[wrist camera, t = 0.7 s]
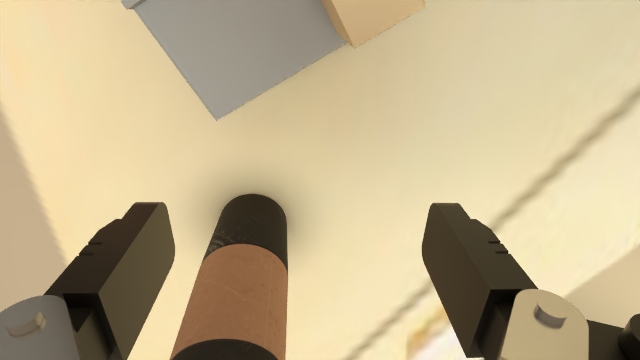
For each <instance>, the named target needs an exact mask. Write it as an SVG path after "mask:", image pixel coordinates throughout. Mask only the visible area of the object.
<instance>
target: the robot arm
mask: <svg viewBox="0 0 640 360" xmlns="http://www.w3.org/2000/svg"><path fill="white" fill-rule="evenodd" d="M174 257H175V244H174V239H173V234H172V229H171V225H170V220H169V215H168V210H167V207H166V205H165V204H164V203H163V202H136V203H134V204H133V205H132V207H131V208H130V209H129V210H128V212H127V213H126V214H125V215H124V217H123V218H122V219H115V220H114V221H112V222H111V223H109V224H108V225H106V226H105V227H103V228H102V229H100V230H99V231H98V232H97V233H96V234H95V235H94V237H93V238H92V239H91V240H90V241H89V242H88V245H86V246H85V247H84V248H83V249H82V251H81V252H80V253H79V256H76V258H75V259H74V260H73V261H72V262H71V263H70V265H69V266H68V267H67V268H66V269H65V270H64V272H63V273H62V274H61V275H60V276H59V277H58V279H57V280H56V281H55V282H54V283H53V284H52V286H51V287H50V288H49V289H48V290H47V291H46V293H45V294H44V295H43V296H36V297H32V298H29V299H26V300H23V301H20V302H18V303H16V304H14V305H12V306H10V307H8V308H7V309H5V310H4V311H2V312H1V313H0V360H127V358H128V356H129V354H130V352H131V350H132V348H133V346H134V344H135V342H136V340H137V338H138V336H139V333H140V331H141V329H142V327H143V325H144V323H145V321H146V319H147V317H148V315H149V313H150V311H151V308H152V306H153V304H154V302H155V300H156V298H157V296H158V294H159V292H160V290H161V288H162V285H163V283H164V281H165V279H166V277H167V275H168V273H169V271H170V269H171V267H172V264H173V261H174ZM422 257H423V261H424V264H425V266H426V269H427V271H428V273H429V275H430V278H431V280H432V282H433V284H434V287H435V289H436V291H437V293H438V295H439V298H440V300H441V302H442V304H443V307H444V309H445V311H446V313H447V315H448V318H449V320H450V322H451V324H452V327H453V329H454V331H455V333H456V335H457V338H458V340H459V342H460V344H461V347H462V349H463V351H464V353H465V355H466V358H480V357H484V359H485V360H640V314H637V315H634V316H633V317H632V318H631V319H630V321H629V322H628V324H627V325H626V327H625V328H620V327H616V326H612V325H607V324H603V323H598V322H595V321H590V320H586V319H585V317H584V316H583V314H582V313H581V312H580V311H579V310H578V309H577V308H576V307H575V306H574V305H572V304H571V303H570V302H568V301H567V300H565V299H564V298H562V297H560V296H558V295H556V294H553V293H551V292H548V291H544V290H539V289H538V288H537V287H536V285H535V284H534V283H533V282H532V280H531V279H530V278H529V277H528V275H527V274H526V273H525V272H524V270H523V269H522V268H521V267H520V265H519V264H518V263H517V262H516V260H515V259H514V258H513V257H512V255H511V254H508V250H507V249H506V248H505V247H504V245H503V244H501V243H500V240H499V239H498V238H497V237H496V235H495V234H494V233H493V231H492V230H491V229H490V228H488V227H487V226H485V225H484V224H482V223H481V222H479V221H478V220H476V219H470V217H469V216H468V215H467V213H466V212H465V211H464V209H463V208H462V207H461V205H460V204H458V203H433V204H432V205H431V206H430V209H429V213H428V218H427V223H426V228H425V232H424V237H423V242H422Z"/></svg>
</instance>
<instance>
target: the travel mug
mask: <svg viewBox="0 0 640 360" xmlns="http://www.w3.org/2000/svg"><path fill="white" fill-rule="evenodd" d="M287 292H288V259H287V223H286V217H285V214H284V212H283V210H282V209H281V207H280V206H279V205H278V204H277V203H276V202H275V201H273V200H272V199H270V198H268V197H265V196H261V195H255V194H249V195H243V196H240V197H237V198H235V199H233V200H232V201H230V202H229V203H228V204H227V205H226V206H225V208H224V209H223V211H222V213H221V216H220V218H219V221H218V223H217V226H216V228H215V231H214V233H213V236H212V238H211V241H210V243H209V246H208V248H207V251H206V254H205V256H204V259H203V261H202V264H201V266H200V269H199V272H198V275H197V278H196V281H195V284H194V287H193V290H192V293H191V296H190V299H189V302H188V305H187V308H186V311H185V314H184V317H183V321H182V324H181V327H180V330H179V333H178V336H177V339H176V342H175V345H174V348H173V351H172V354H171V357H170V360H285V353H286V323H287Z"/></svg>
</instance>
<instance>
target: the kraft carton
mask: <svg viewBox="0 0 640 360" xmlns="http://www.w3.org/2000/svg"><path fill="white" fill-rule="evenodd" d="M321 1H322V3H323V5H324V7H325V10H326V12H327V14H328V16H329V18H330V20H331V22H332V24H333V26H334V28H335V30H336V32H337V34H338V35H340V36H341V37H342V38H343V39H344V40H346V41H347V42H348V43H349V44H350V45H351V46H353V47H354V48H356V47H358V46H359V45H361V44H363V43H364V42H366V41H368V40H370V39H371V38H373V37H375V36H376V35H378V34H380V33H381V32H383V31H385V30H386V29H388V28H390V27H392V26H393V25H395V24H397V23H398V22H400V21H402V20H403V19H405V18H407V17H409V16H410V15H412V14H414V13H415V12H417V11H419V10H420V9H422V8H424V7H425V6H426V4H425V2H424V0H321Z"/></svg>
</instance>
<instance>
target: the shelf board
mask: <svg viewBox="0 0 640 360" xmlns="http://www.w3.org/2000/svg"><path fill="white" fill-rule="evenodd" d="M121 3H122V4H123V5H124V7H125V8H126V9H134V10H135V12H136V13H137V14H138V16H139V17H140V19H141V20H142V21H143V23H144V24H145V25H146V27H147V28H148V29H149V31H150V32H151V33H152V35H153V36H154V37H155V39H156V40H157V41H158V43H159V44H160V46H161V47H162V48H163V50H164V51H165V52H166V54H167V55H168V56H169V58H170V59H171V60H172V62H173V63H174V64H175V66H176V67H177V68H178V70H179V71H180V73H181V74H182V75H183V77H184V78H185V79H186V81H187V82H188V83H189V85H190V86H191V87H192V89H193V90H194V91H195V93H196V94H197V95H198V97H199V98H200V100H201V101H202V102H203V104H204V105H205V106H206V108H207V109H208V110H209V112H210V113H211V114H212V116H213V117H214V118H215V120H216V121H217V120H218V119H220V118H222V117H223V116H225V115H227V114H228V113H230V112H232V111H233V110H235V109H237V108H238V107H240V106H242V105H243V104H245V103H247V102H248V101H250V100H252V99H253V98H255V97H257V96H258V95H260V94H262V93H263V92H265V91H267V90H269V89H270V88H272V87H274V86H275V85H277V84H279V83H280V82H282V81H284V80H285V79H287V78H289V77H290V76H292V75H294V74H295V73H297V72H299V71H300V70H302V69H304V68H305V67H307V66H309V65H310V64H312V63H314V62H316V61H317V60H319V59H321V58H322V57H324V56H326V55H327V54H329V53H331V52H332V51H334V50H336V49H337V48H339V47H341V46H342V45H344V44H346V43H347V41H346V40H344V39H343V38H342V37H341V36H340V35H338V34H337V32H336V30H335V28H334V26H333V24H332V22H331V20H330V18H329V16H328V14H327V12H326V10H325V7H324V5H323V3H322V1H321V0H122V1H121Z"/></svg>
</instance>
